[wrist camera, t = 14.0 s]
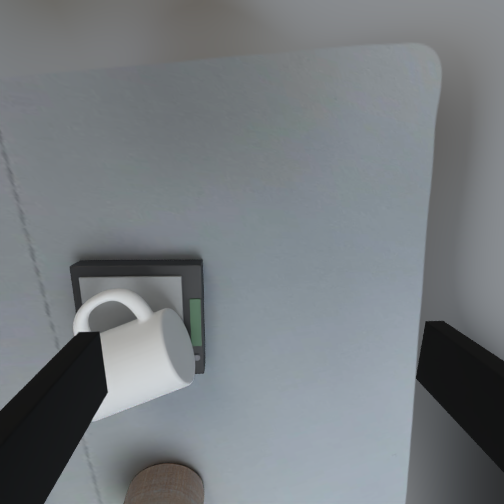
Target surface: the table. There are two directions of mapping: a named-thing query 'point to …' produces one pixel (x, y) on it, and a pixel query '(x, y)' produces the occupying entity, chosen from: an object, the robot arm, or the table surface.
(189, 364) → the mug
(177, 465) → the planter
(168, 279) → the scale
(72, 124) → the table surface
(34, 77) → the table surface
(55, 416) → the robot arm
